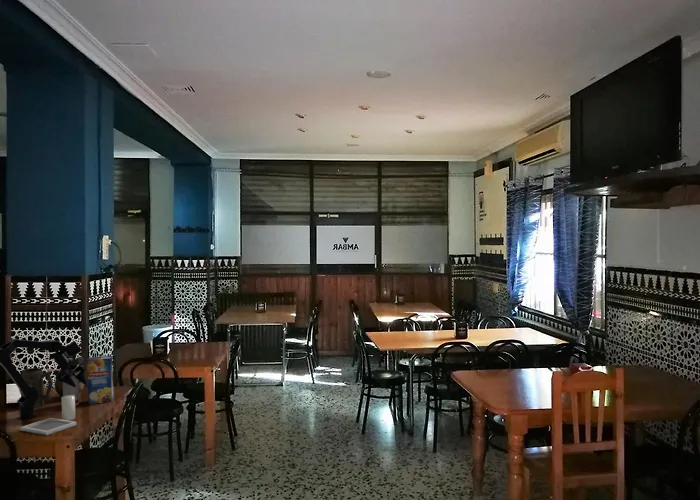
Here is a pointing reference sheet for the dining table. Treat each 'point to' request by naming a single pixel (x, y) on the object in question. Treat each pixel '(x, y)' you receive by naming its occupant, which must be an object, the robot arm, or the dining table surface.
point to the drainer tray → (48, 426)
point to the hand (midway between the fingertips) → (80, 385)
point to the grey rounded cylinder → (68, 407)
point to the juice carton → (100, 379)
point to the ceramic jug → (60, 384)
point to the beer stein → (38, 383)
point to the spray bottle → (72, 389)
